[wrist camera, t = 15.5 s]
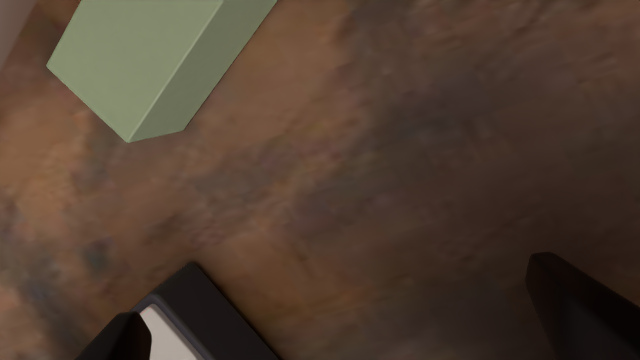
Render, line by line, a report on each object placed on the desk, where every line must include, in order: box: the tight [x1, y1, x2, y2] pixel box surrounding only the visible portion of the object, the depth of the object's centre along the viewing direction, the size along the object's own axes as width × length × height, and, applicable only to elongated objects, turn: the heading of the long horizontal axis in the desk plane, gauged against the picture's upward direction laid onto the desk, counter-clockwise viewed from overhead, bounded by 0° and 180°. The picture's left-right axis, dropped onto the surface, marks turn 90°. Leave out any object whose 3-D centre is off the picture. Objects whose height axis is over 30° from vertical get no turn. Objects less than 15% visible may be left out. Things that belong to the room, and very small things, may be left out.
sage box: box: [47, 0, 278, 143], centre depth 19 cm, size 5×9×4 cm, turn 139°
